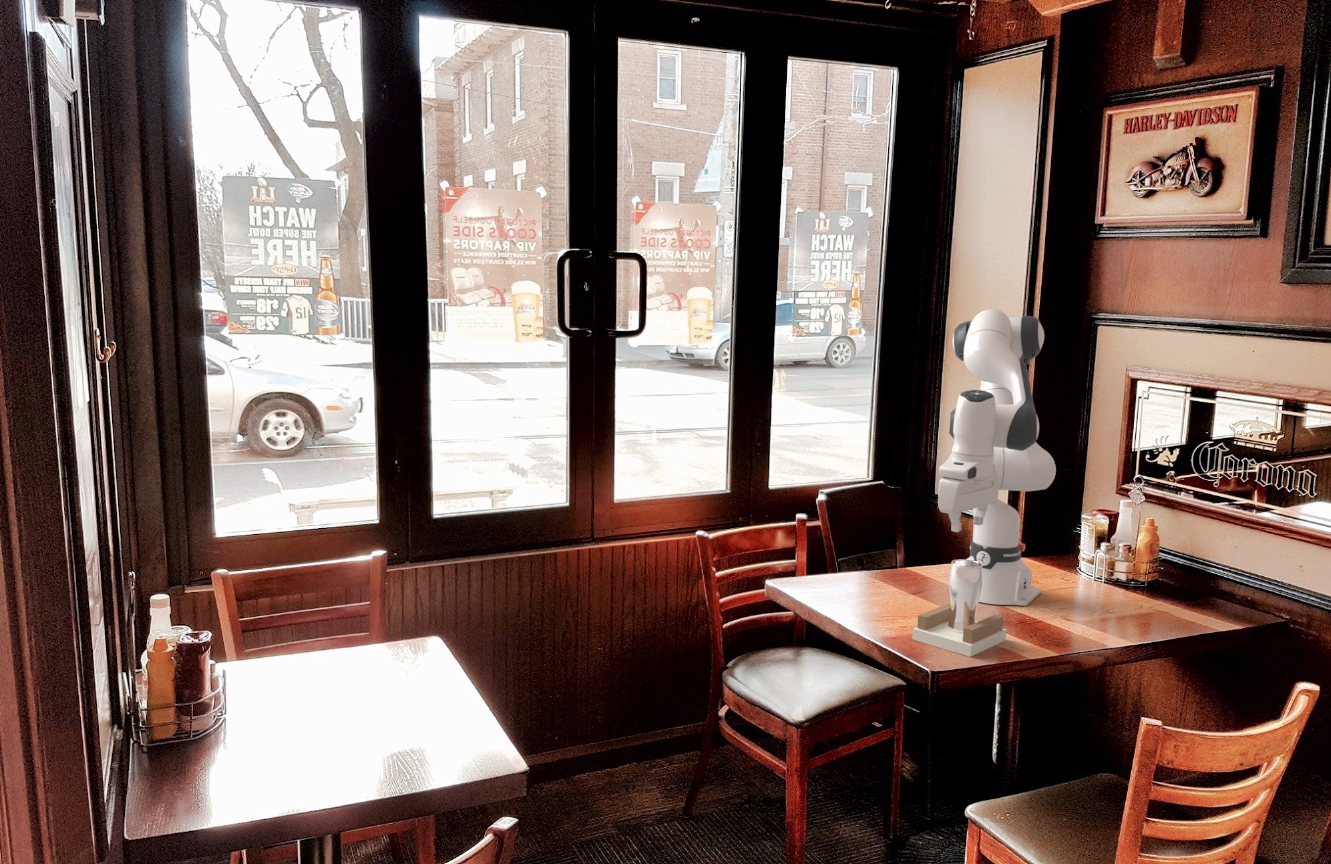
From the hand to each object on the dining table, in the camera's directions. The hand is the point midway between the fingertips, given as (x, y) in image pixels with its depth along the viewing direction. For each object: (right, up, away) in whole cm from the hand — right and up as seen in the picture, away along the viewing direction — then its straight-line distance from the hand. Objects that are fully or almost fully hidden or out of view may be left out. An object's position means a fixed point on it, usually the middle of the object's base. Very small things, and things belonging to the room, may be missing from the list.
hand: (967, 527), depth 216 cm
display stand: (-1, -25, +3) cm, 26 cm away
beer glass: (0, -23, +3) cm, 23 cm away
